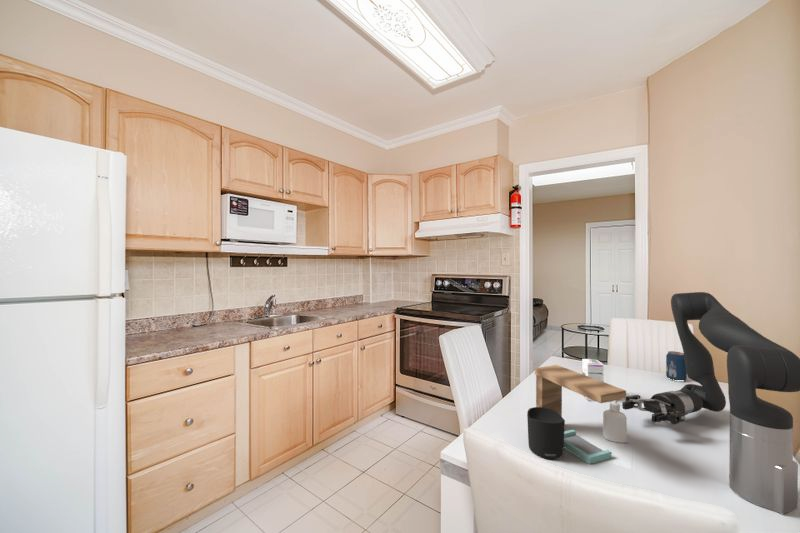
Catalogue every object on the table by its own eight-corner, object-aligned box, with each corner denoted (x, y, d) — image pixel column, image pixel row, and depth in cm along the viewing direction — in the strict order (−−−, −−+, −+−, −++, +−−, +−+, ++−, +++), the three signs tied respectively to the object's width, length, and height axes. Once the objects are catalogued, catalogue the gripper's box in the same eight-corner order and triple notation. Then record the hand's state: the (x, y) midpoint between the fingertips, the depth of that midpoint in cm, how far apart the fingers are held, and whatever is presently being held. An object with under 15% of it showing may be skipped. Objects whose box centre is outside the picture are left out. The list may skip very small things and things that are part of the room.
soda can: (684, 378, 142) (684, 352, 142) (688, 383, 136) (688, 356, 136) (664, 375, 146) (664, 350, 146) (667, 380, 140) (667, 353, 140)
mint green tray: (611, 457, 84) (611, 451, 84) (589, 464, 81) (589, 457, 81) (572, 434, 95) (572, 429, 95) (552, 439, 92) (552, 434, 92)
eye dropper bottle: (606, 432, 96) (606, 393, 96) (628, 440, 92) (628, 399, 92) (601, 437, 93) (601, 397, 93) (623, 446, 89) (623, 404, 89)
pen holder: (521, 450, 87) (521, 414, 87) (535, 437, 93) (535, 404, 93) (557, 466, 80) (557, 427, 80) (569, 450, 87) (569, 414, 87)
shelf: (625, 463, 81) (625, 390, 81) (600, 471, 78) (600, 395, 78) (556, 423, 102) (557, 364, 102) (534, 428, 99) (535, 367, 99)
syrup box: (604, 402, 117) (604, 363, 117) (587, 400, 119) (587, 362, 119) (598, 396, 123) (598, 359, 123) (581, 394, 124) (581, 358, 124)
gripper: (648, 384, 108) (614, 391, 102) (699, 401, 94) (664, 410, 89) (648, 406, 108) (614, 413, 102) (699, 426, 94) (663, 436, 89)
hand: (637, 412), depth 96 cm, fingers open, 8 cm apart
